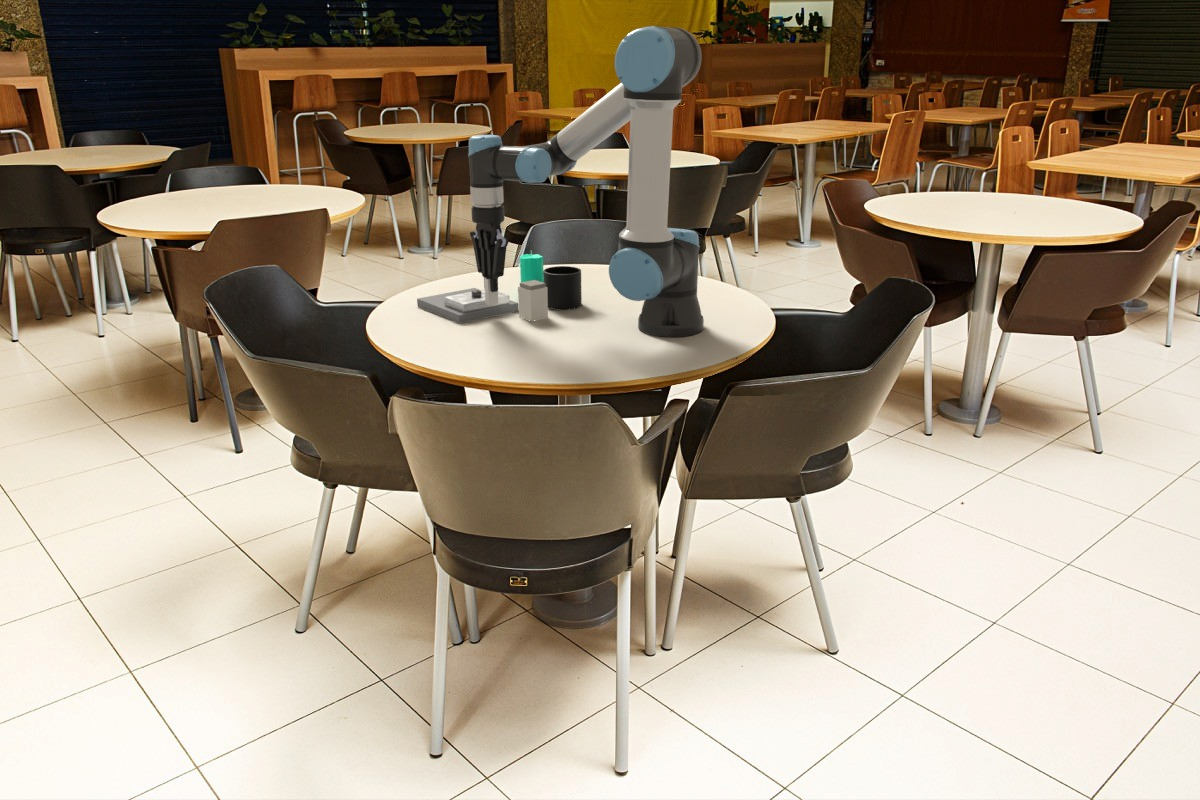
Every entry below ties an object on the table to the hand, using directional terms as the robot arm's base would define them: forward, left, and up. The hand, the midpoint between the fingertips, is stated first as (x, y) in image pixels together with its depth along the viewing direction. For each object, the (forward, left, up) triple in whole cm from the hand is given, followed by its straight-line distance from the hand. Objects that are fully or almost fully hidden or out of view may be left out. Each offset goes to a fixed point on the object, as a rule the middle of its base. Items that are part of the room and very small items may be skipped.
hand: (491, 303), depth 222 cm
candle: (+11, -20, -4) cm, 23 cm away
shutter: (+7, 0, -1) cm, 7 cm away
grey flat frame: (+11, 0, -4) cm, 12 cm away
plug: (-6, -8, -4) cm, 11 cm away
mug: (-1, -21, -4) cm, 21 cm away
